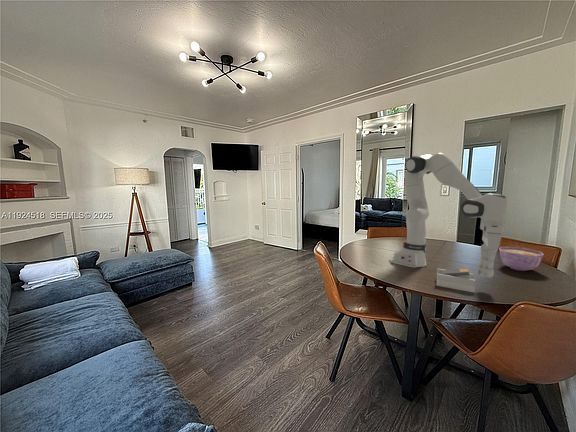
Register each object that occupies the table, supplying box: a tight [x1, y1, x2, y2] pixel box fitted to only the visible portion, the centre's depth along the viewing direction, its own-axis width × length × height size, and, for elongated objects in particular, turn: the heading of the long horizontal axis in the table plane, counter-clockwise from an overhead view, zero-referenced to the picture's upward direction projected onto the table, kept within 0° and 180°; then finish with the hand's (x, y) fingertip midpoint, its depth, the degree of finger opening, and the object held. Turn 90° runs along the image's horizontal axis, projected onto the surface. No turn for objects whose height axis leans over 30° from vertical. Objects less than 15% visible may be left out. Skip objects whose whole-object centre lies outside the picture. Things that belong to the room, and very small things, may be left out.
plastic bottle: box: [476, 242, 499, 278], centre depth 119 cm, size 6×7×20 cm
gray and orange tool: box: [441, 268, 470, 276], centre depth 126 cm, size 12×6×2 cm, turn 57°
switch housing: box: [435, 268, 476, 293], centre depth 126 cm, size 16×12×6 cm
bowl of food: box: [498, 246, 544, 272], centre depth 148 cm, size 20×20×12 cm
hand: (488, 253), depth 118 cm, fingers closed on plastic bottle, 6 cm apart
